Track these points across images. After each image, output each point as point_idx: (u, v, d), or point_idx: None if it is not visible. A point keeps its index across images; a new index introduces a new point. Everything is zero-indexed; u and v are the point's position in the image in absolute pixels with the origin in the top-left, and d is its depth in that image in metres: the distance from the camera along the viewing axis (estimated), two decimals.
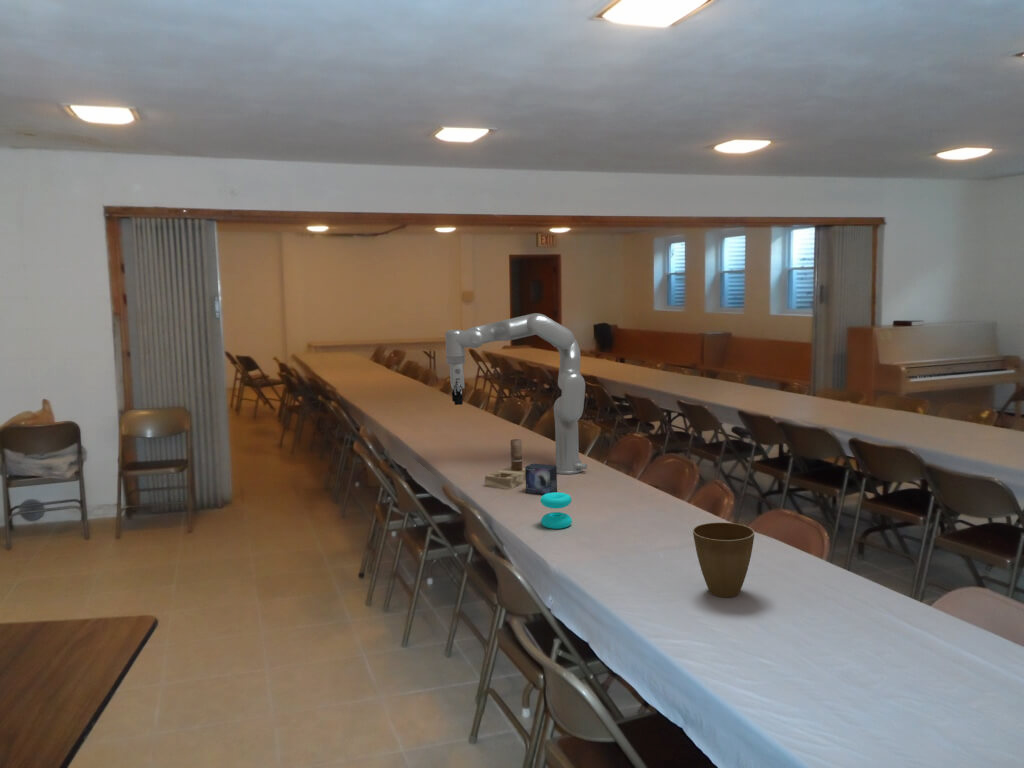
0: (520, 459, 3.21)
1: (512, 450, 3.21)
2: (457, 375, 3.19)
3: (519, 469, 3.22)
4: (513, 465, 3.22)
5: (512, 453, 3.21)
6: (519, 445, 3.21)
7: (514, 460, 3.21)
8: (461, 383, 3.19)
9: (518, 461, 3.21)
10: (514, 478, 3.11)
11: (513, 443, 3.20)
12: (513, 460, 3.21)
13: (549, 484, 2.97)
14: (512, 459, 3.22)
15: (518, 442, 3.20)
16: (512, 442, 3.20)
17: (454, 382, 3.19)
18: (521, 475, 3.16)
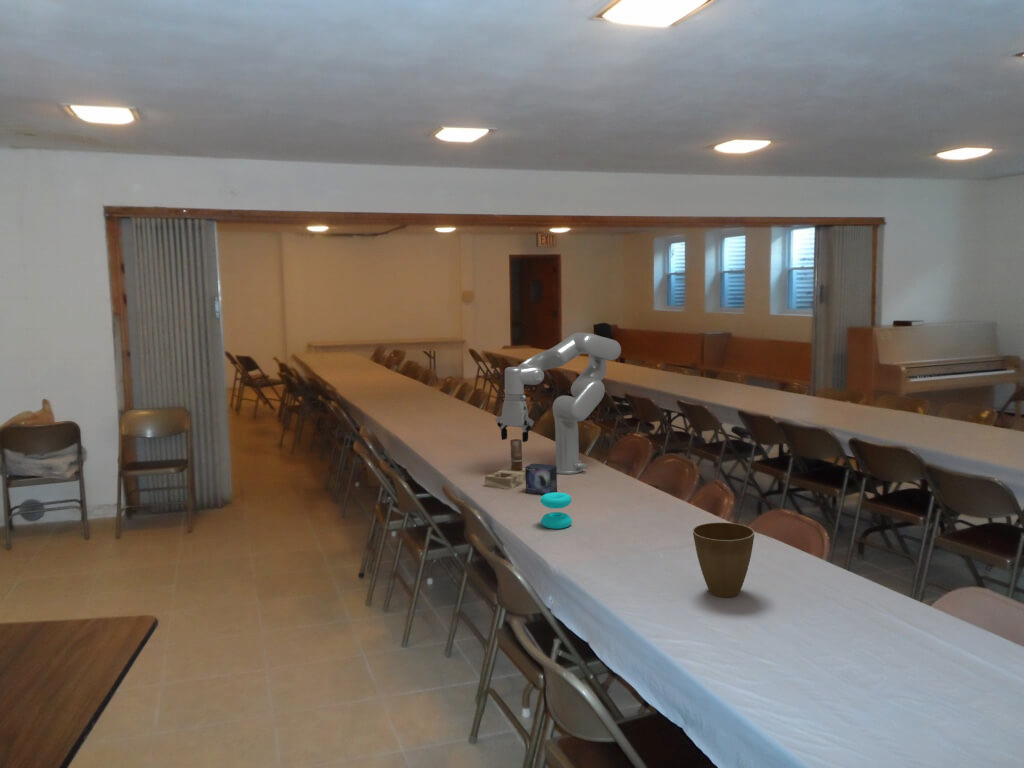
0: (520, 459, 3.21)
1: (512, 450, 3.21)
2: (525, 412, 3.18)
3: (519, 469, 3.22)
4: (513, 465, 3.22)
5: (512, 453, 3.21)
6: (519, 445, 3.21)
7: (514, 460, 3.21)
8: None
9: (518, 461, 3.21)
10: (514, 478, 3.11)
11: (513, 443, 3.20)
12: (513, 460, 3.21)
13: (549, 484, 2.97)
14: (512, 459, 3.22)
15: (518, 442, 3.20)
16: (512, 442, 3.20)
17: (523, 419, 3.17)
18: (521, 475, 3.16)
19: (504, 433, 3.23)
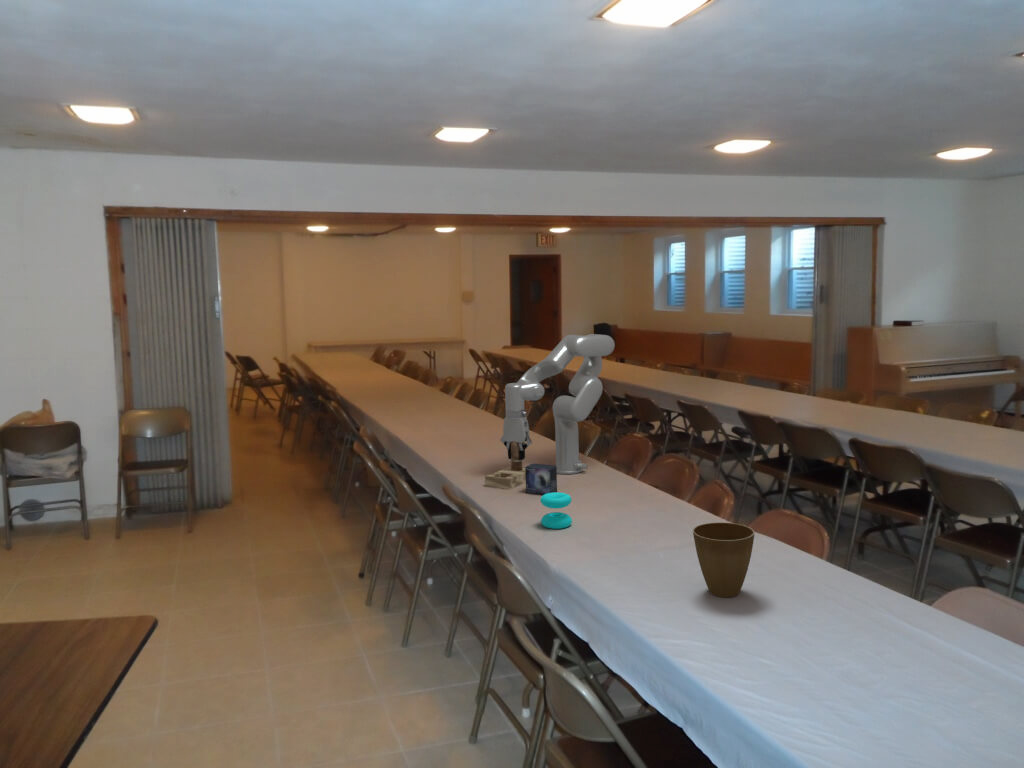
0: None
1: (512, 450, 3.21)
2: (526, 428, 3.19)
3: (519, 469, 3.22)
4: (513, 465, 3.22)
5: (512, 453, 3.21)
6: None
7: (514, 460, 3.21)
8: None
9: (518, 461, 3.21)
10: (514, 478, 3.11)
11: (513, 443, 3.20)
12: (513, 460, 3.21)
13: (549, 484, 2.97)
14: (512, 459, 3.22)
15: None
16: (512, 442, 3.20)
17: (524, 435, 3.18)
18: (521, 475, 3.16)
19: None
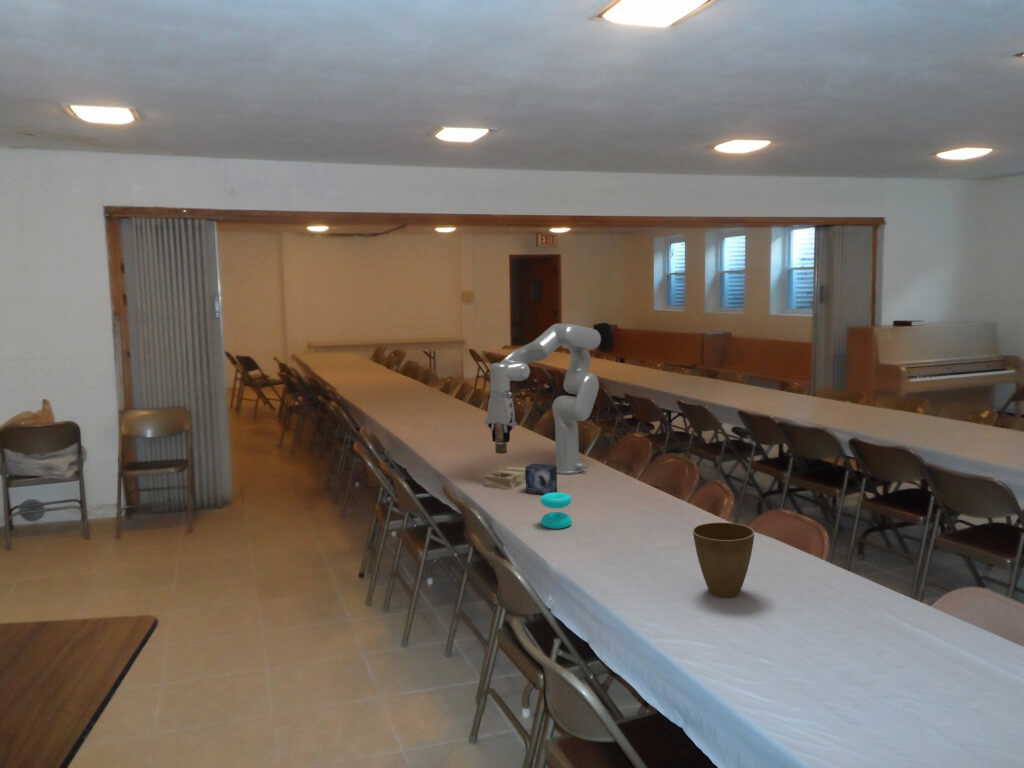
0: None
1: (497, 432, 3.10)
2: (511, 409, 3.09)
3: (503, 452, 3.11)
4: (497, 447, 3.11)
5: (496, 435, 3.11)
6: None
7: (498, 442, 3.11)
8: None
9: (503, 443, 3.11)
10: (514, 478, 3.11)
11: (497, 425, 3.10)
12: (497, 442, 3.11)
13: (549, 484, 2.97)
14: (496, 441, 3.11)
15: None
16: (496, 424, 3.10)
17: (509, 417, 3.08)
18: (521, 475, 3.16)
19: None
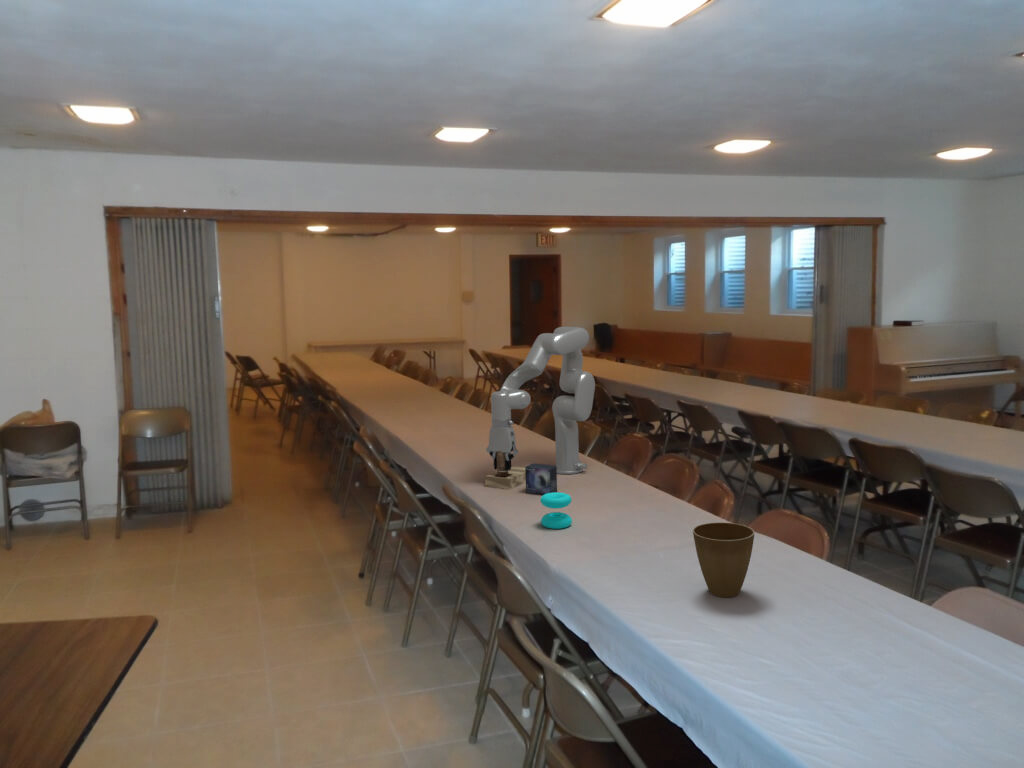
0: None
1: (498, 460, 3.12)
2: (512, 438, 3.10)
3: None
4: (499, 476, 3.13)
5: (498, 463, 3.12)
6: None
7: (500, 471, 3.12)
8: None
9: (504, 471, 3.12)
10: (514, 478, 3.11)
11: (499, 453, 3.11)
12: (498, 471, 3.12)
13: (549, 484, 2.97)
14: (498, 469, 3.13)
15: None
16: (498, 452, 3.12)
17: (511, 445, 3.09)
18: (521, 475, 3.16)
19: None
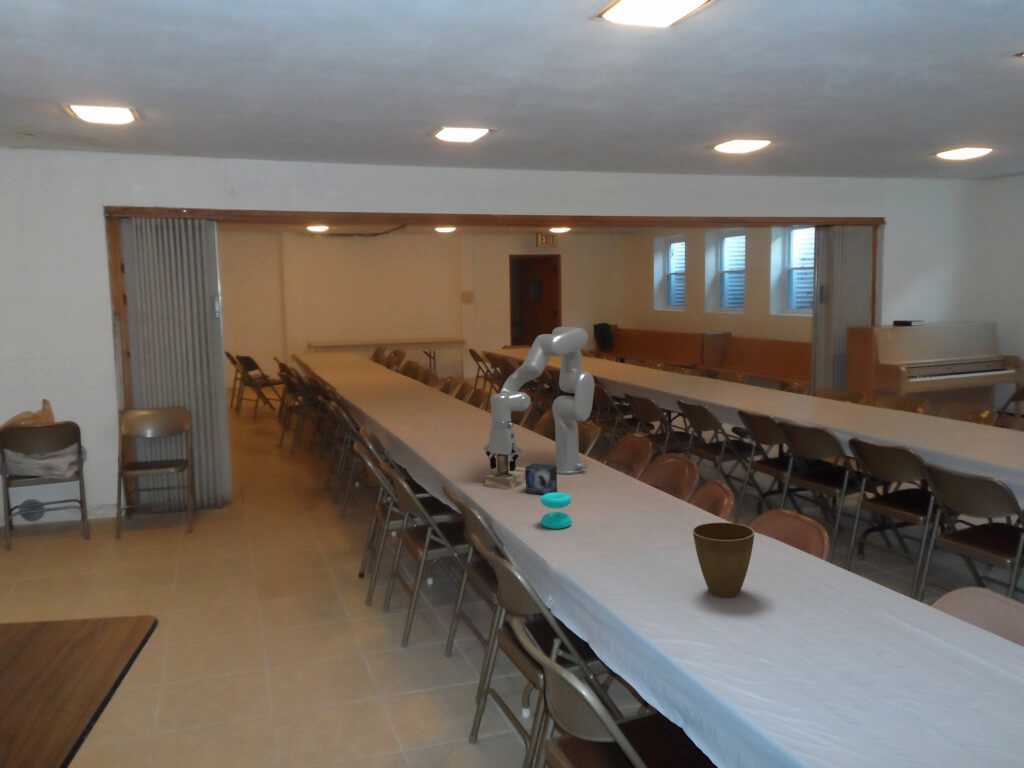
0: (507, 474, 3.13)
1: (499, 465, 3.12)
2: (512, 440, 3.10)
3: None
4: None
5: (498, 468, 3.13)
6: (505, 460, 3.12)
7: (501, 475, 3.13)
8: None
9: (505, 476, 3.13)
10: (514, 478, 3.11)
11: (499, 458, 3.12)
12: (499, 475, 3.13)
13: (549, 484, 2.97)
14: (498, 474, 3.13)
15: (504, 457, 3.12)
16: (498, 457, 3.12)
17: (511, 447, 3.09)
18: (521, 475, 3.16)
19: (493, 462, 3.16)
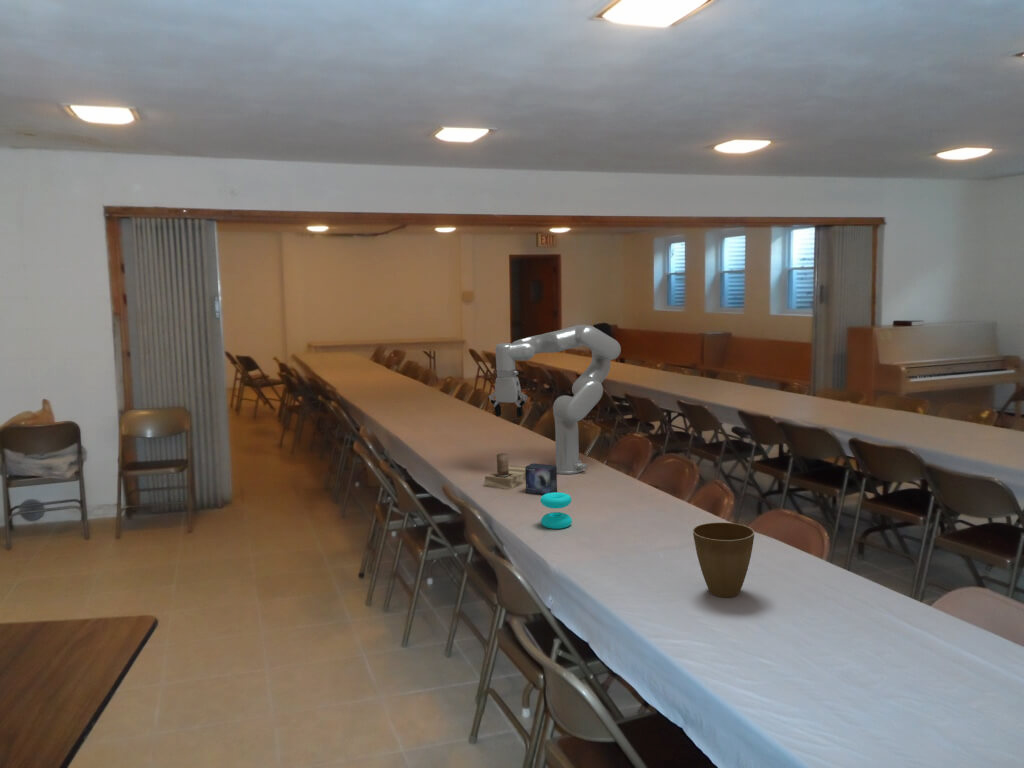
0: (507, 474, 3.13)
1: (498, 465, 3.12)
2: (518, 387, 3.21)
3: None
4: None
5: (498, 468, 3.13)
6: (505, 460, 3.12)
7: (500, 475, 3.13)
8: None
9: (505, 476, 3.13)
10: (514, 478, 3.11)
11: (499, 458, 3.12)
12: (499, 475, 3.13)
13: (549, 484, 2.97)
14: (498, 474, 3.13)
15: (504, 457, 3.12)
16: (498, 457, 3.12)
17: (517, 395, 3.20)
18: (521, 475, 3.16)
19: (498, 410, 3.26)
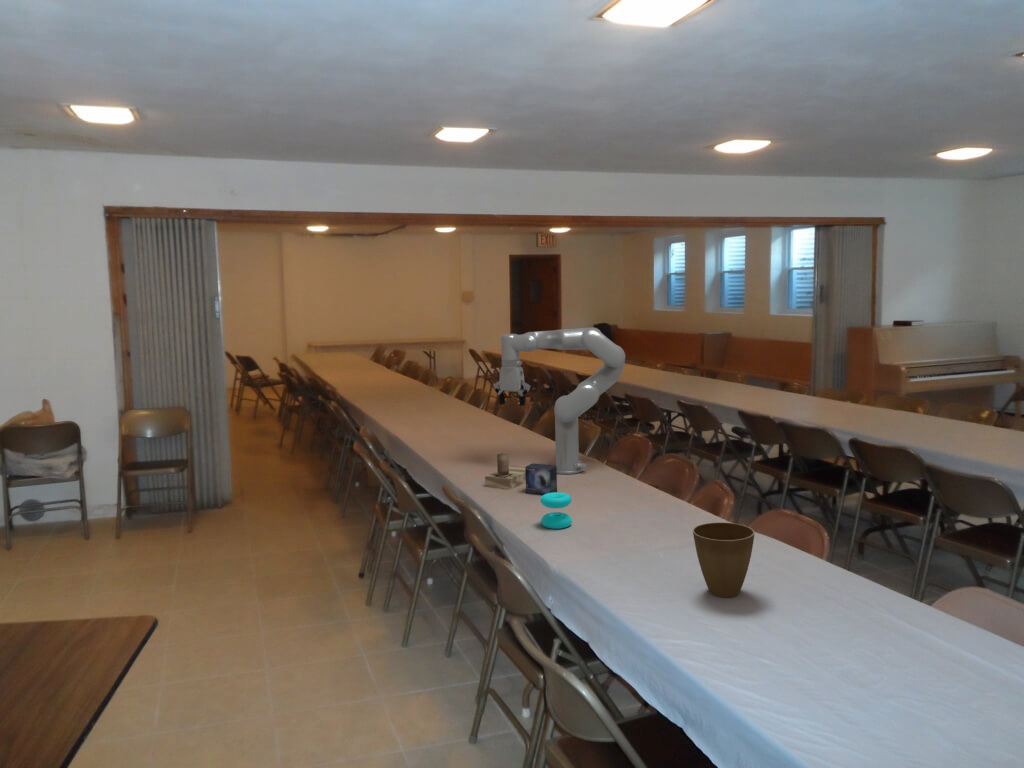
0: (507, 474, 3.13)
1: (499, 465, 3.12)
2: (521, 377, 3.30)
3: None
4: None
5: (498, 468, 3.13)
6: (506, 460, 3.12)
7: (501, 475, 3.13)
8: None
9: (505, 476, 3.13)
10: (514, 478, 3.11)
11: (499, 458, 3.12)
12: (499, 475, 3.13)
13: (549, 484, 2.97)
14: (498, 474, 3.13)
15: (505, 457, 3.11)
16: (498, 457, 3.12)
17: (520, 384, 3.29)
18: (521, 475, 3.16)
19: (502, 398, 3.35)
